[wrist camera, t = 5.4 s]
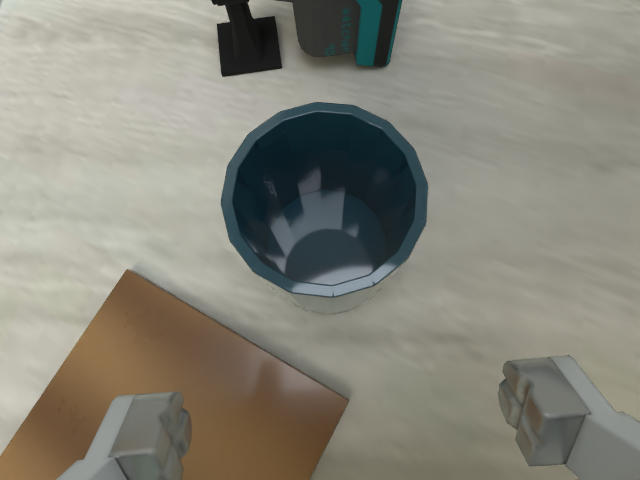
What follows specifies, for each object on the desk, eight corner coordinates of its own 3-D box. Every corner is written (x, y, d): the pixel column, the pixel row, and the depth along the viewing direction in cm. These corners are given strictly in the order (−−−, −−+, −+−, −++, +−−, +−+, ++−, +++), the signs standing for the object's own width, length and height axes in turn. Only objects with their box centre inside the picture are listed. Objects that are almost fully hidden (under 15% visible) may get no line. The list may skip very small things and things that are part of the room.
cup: (303, 167, 22) (287, 73, 14) (414, 223, 21) (461, 154, 13) (238, 273, 21) (182, 232, 13) (354, 339, 20) (368, 336, 12)
